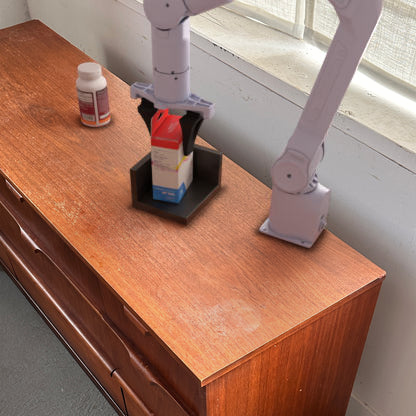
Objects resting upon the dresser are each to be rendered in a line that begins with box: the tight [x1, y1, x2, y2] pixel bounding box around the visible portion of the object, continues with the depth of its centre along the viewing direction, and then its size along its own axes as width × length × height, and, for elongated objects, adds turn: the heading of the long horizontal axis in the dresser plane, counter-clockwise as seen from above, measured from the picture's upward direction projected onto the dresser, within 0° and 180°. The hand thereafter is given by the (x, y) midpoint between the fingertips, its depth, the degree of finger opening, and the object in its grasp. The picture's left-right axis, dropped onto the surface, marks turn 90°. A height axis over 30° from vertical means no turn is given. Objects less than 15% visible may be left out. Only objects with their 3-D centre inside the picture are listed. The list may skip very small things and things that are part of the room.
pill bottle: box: [75, 61, 111, 128], centre depth 127 cm, size 6×6×11 cm
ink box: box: [150, 108, 193, 203], centre depth 107 cm, size 8×5×15 cm, turn 164°
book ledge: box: [129, 143, 224, 226], centre depth 110 cm, size 11×13×8 cm
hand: (172, 148), depth 106 cm, fingers closed on ink box, 5 cm apart
